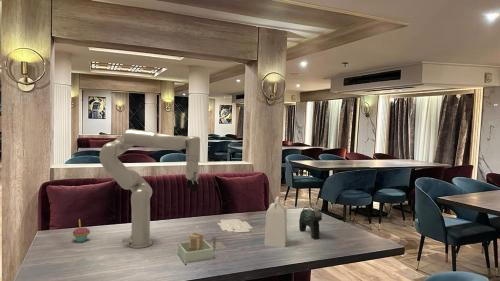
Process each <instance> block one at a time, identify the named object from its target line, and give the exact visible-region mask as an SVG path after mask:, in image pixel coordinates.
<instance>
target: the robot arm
mask: <svg viewBox="0 0 500 281" xmlns="http://www.w3.org/2000/svg"><path fill="white" fill-rule="evenodd" d="M134 146H136V147H146V148H153V149H163V150H171V151H182V150H183V149H186V150H185V162H186V164H185V165H186V166H185V167H186V168H185V178H186V188H187V189H191V192H198V190H199V189H198V186H199V174H200V172H199V171H200V170H199V169H200V168H199V165H200V164H199V162H200V160H201V138H200V136H191V135H190V136H185V135H169V134H162V133H159V132H157V131H150V130H149V131H148V130H139V129H135V128H128V129H125V130H124V131H123V133H122V135H121V136H119V137H118V138H116V139H114V140H113V141H109V142H107V143H104V145H103V146H102V147H101V149H100V151H99V162H100V164H101V166H102V167H103V168H104V170H105V171H106V172H107V173H108V174H109V175H110V176H111V177H112V179H113V180H115V182H116V183H117V184H118V185H119V186H120V188H121V189H123V190H128V191H129V190H130V191H131V196H130V206H131V231H130V232H131V235H129V236H128V237H125V238H123V237H122V239H121V242H122V243H125V244H128V246H127V247H130V248H132V249H145V248H149V247H150V246H152V245H153V240H152V239H151V238H150V234H151V231H150V230H151V228H150V227H151V204H150V203H151V202H150V201H151V197H152V195H153V188H152V187H151V185H150V184H149V183H148V182H147V181H146V179H144V178H143V177H142V176H141V175H140V174H139V172H137V171H136V170H133V169H128V168H127V167H126V166H125V164H124V163H123V162H122V161H121V160H120V159H119V158H118V157H119V156H121V155H123V154H124V153H125V152H127V151H128V150H130V149H131V148H133V147H134Z"/></svg>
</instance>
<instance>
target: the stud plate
mask: <svg viewBox="0 0 500 281" xmlns="http://www.w3.org/2000/svg"><path fill="white" fill-rule="evenodd" d="M217 239H218V238H217V237H216V236H213V237H212V238H211V240H212V242H207V243H208V244H209V245H210V246H211V247H212V248H213V249H214V250H221V249H222V250H223V249H227V246H225V245H224V244H223V243H222V242H221V241H217Z"/></svg>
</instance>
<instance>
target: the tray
mask: <svg viewBox="0 0 500 281" xmlns="http://www.w3.org/2000/svg"><path fill="white" fill-rule="evenodd" d="M219 221H220V222H217V225H218V226H219V228H220V230H221V231H223V232H224V231H225V230H227V232H234V233H247V232H251V230H253V226H251V225H250V223H248V222H247V221H241V220H240V219H239V218H238V219H237V218H234V219H219ZM233 229H235V230H233Z"/></svg>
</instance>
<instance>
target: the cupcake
mask: <svg viewBox="0 0 500 281" xmlns="http://www.w3.org/2000/svg"><path fill="white" fill-rule="evenodd" d="M78 226H79V227H77V228H75V229H73V231H72V236H73V237H74V238H75V241H76V242H79V243H81V242H82V243H83V242H85V241H86V240H87V238H88V235H90V233H91V230H90V229H89V228H87V227H82V224H81V219H78Z"/></svg>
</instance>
